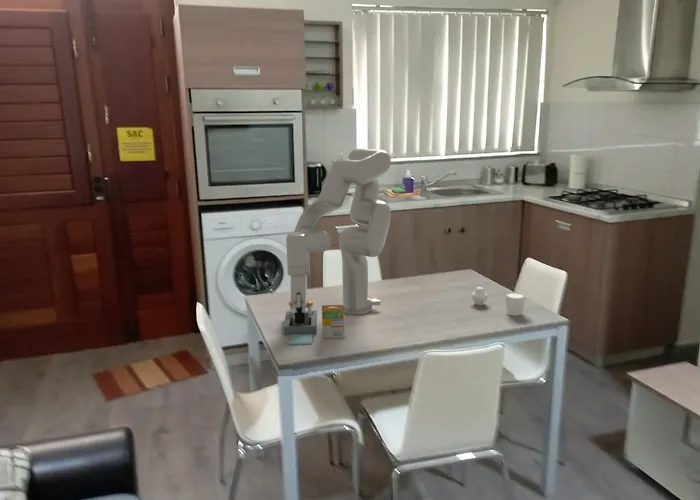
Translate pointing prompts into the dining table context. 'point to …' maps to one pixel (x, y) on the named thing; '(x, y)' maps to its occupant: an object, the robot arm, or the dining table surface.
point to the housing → (300, 329)
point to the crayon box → (333, 321)
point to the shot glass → (515, 303)
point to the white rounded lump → (479, 296)
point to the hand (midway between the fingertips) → (300, 319)
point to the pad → (301, 339)
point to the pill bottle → (304, 313)
